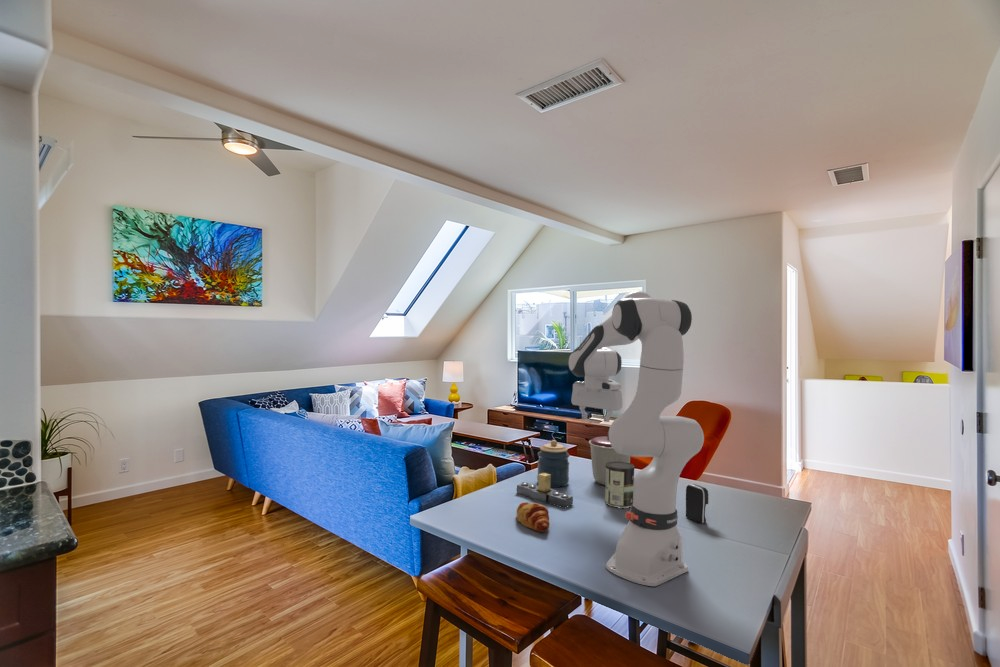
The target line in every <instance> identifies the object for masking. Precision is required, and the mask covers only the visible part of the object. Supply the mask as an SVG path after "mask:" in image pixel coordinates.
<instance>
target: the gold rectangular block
mask: <svg viewBox="0 0 1000 667" xmlns="http://www.w3.org/2000/svg"><path fill="white" fill-rule="evenodd" d="M537 475H538V480H537V483H538V484H537V486H538V492H542V493H548V492H550V489H551V487H550V482H551V474H547V473H541V474H538V473H537Z"/></svg>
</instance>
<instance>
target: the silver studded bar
mask: <svg viewBox="0 0 1000 667" xmlns="http://www.w3.org/2000/svg"><path fill="white" fill-rule="evenodd" d="M516 494H518V495H521V496H523V497H524V496H525V497H528V498H530V499H531V500H534V501H537V502H539V501H540V503H543V504H549V503H551V504H550V505H553V504H555V505H554V506H556V505H558V506H557V507H559V506H561V507H560V508H562V507H564V508H563V509H566V508H565V507H567V506H569V505H571V504H573V503H574V501H573V500H574V496H573V495H570V494H567V493H562V492H561V491H558V490H556V489H553V488H550V492H548V493H542V492H538V485H536V484H532V483H529V482H525V481H524V482H521V483H519V484H516ZM547 502H548V503H547ZM571 506H572V505H571ZM569 507H570V506H569ZM567 508H568V507H567Z"/></svg>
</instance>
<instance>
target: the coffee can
mask: <svg viewBox="0 0 1000 667" xmlns="http://www.w3.org/2000/svg"><path fill="white" fill-rule="evenodd" d="M635 470H636V467H635V465H634V464H633V463H631V462H630V463H626V462H619V461H613V462H607V463H606V485H604V486H605V490H604V491H605V492H604V493H605V494H604V495H605V496H604V497H605V498H604V503H605V505H607V504H608V505H610V506H609V507H611V506H614V507H620V508H619V509H622V508H624V509H630V508H629V507H631V506H632V504H633V491H634V478H635ZM608 505H607V506H608ZM614 507H613V508H614Z"/></svg>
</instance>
